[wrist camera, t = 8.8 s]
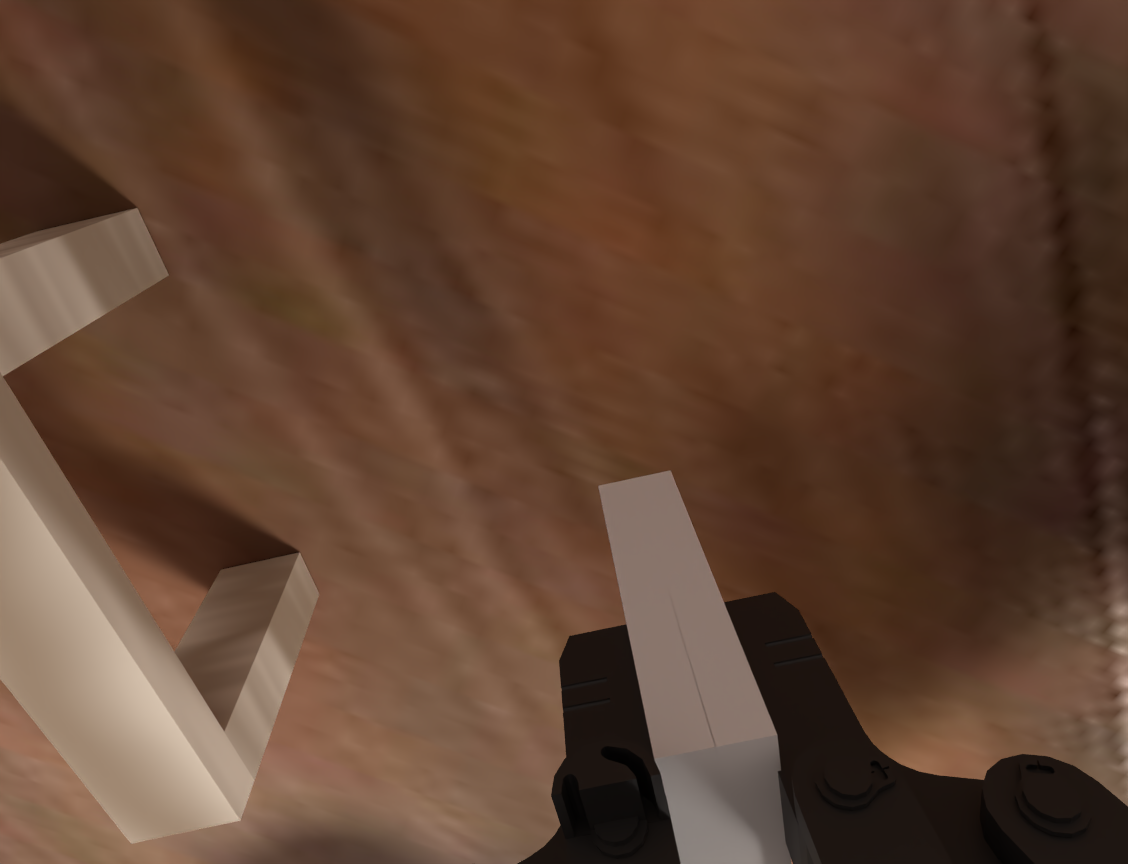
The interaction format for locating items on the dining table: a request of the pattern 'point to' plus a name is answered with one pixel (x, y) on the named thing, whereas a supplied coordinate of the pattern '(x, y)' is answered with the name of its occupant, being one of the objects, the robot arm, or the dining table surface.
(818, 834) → the robot arm
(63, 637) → the bridge
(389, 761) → the dining table surface
